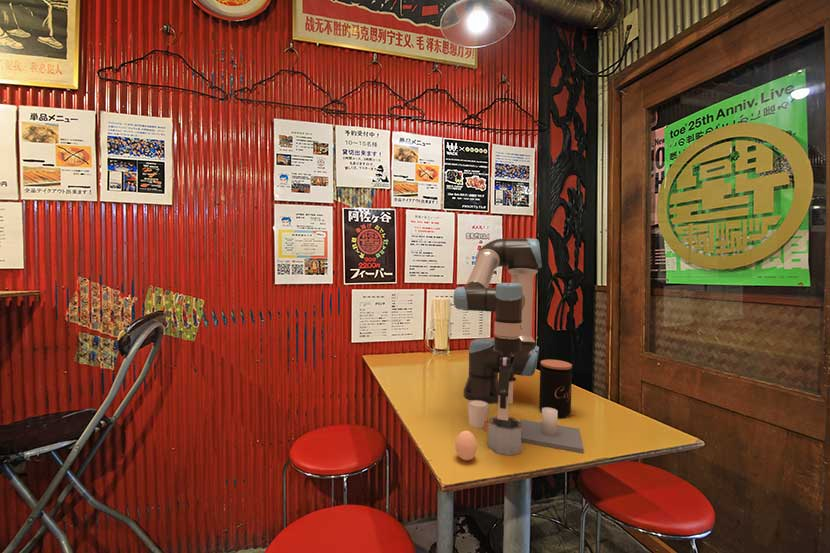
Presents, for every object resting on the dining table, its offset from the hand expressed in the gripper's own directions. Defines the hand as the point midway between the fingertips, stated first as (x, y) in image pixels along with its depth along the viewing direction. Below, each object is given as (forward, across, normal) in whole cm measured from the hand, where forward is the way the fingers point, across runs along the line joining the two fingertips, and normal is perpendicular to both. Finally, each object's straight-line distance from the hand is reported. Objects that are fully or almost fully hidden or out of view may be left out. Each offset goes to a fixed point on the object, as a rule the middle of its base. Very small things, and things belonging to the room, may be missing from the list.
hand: (505, 410), depth 102 cm
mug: (+11, +1, 0) cm, 11 cm away
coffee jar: (+10, +34, -14) cm, 38 cm away
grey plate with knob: (+10, +13, -12) cm, 20 cm away
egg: (+11, -10, +9) cm, 18 cm away
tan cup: (+11, +13, +10) cm, 19 cm away
